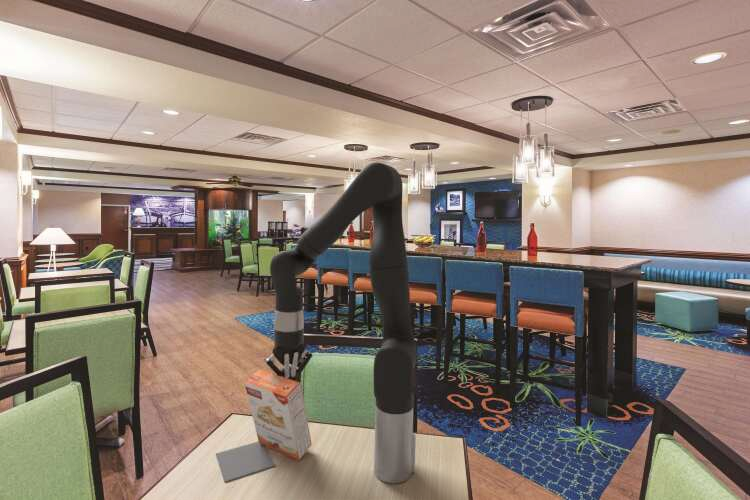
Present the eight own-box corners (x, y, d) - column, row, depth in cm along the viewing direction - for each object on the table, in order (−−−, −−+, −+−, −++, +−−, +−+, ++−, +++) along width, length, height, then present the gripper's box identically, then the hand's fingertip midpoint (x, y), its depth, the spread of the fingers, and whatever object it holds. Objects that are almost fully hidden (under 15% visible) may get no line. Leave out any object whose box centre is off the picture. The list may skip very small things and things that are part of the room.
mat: (262, 441, 107) (262, 440, 107) (275, 466, 97) (275, 465, 97) (215, 454, 101) (215, 453, 101) (224, 482, 91) (224, 481, 91)
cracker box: (257, 444, 105) (242, 381, 98) (272, 429, 110) (259, 367, 103) (298, 463, 98) (285, 396, 91) (312, 445, 103) (301, 381, 96)
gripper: (267, 333, 95) (267, 401, 97) (318, 326, 102) (317, 389, 104) (259, 325, 101) (259, 388, 103) (307, 319, 108) (307, 379, 110)
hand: (288, 389), depth 103 cm, fingers closed
